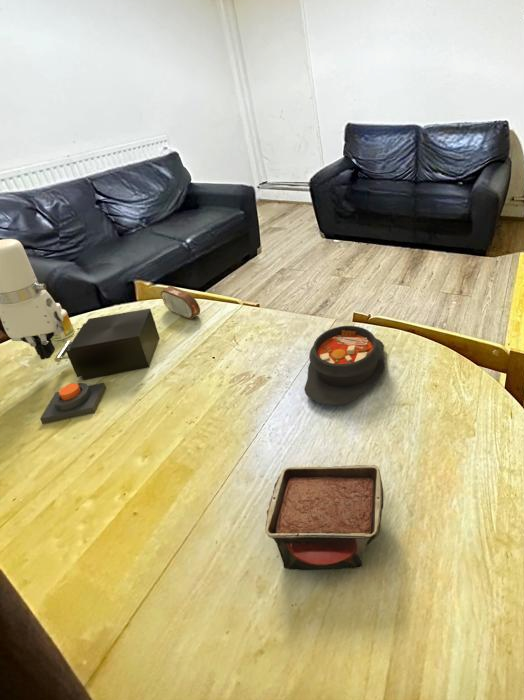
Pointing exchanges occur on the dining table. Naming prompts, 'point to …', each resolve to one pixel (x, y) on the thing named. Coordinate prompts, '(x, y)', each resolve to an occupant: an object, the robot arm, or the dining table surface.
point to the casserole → (343, 365)
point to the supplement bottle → (64, 325)
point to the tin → (180, 302)
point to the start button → (69, 392)
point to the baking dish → (325, 515)
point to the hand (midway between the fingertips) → (48, 355)
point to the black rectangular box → (115, 344)
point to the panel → (74, 404)
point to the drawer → (68, 354)
